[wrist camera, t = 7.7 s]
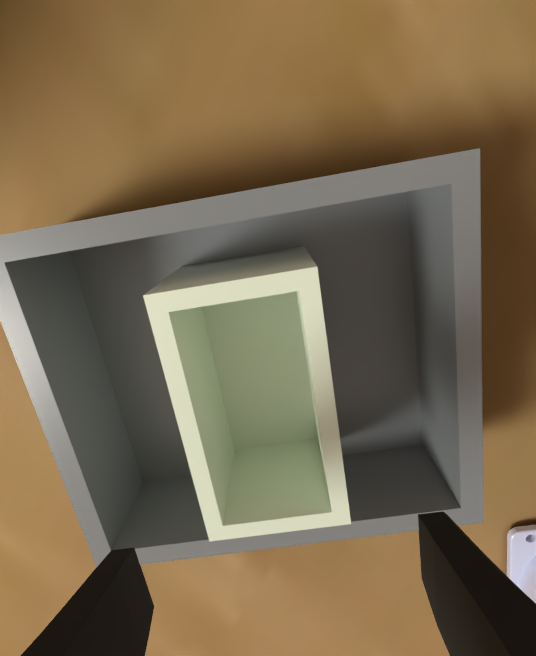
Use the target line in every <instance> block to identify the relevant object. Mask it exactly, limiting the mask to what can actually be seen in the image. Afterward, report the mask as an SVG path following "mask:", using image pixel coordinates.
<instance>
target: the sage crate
mask: <svg viewBox="0 0 536 656" xmlns="http://www.w3.org/2000/svg"><path fill="white" fill-rule="evenodd" d="M143 298H144V301H145V305H146V309H147V312H148V316H149V320H150V324H151V327H152V331H153V335H154V338H155V342H156V346H157V349H158V353H159V357H160V361H161V364H162V368H163V372H164V375H165V379H166V383H167V386H168V390H169V394H170V398H171V401H172V405H173V409H174V412H175V416H176V420H177V423H178V427H179V431H180V434H181V438H182V442H183V446H184V449H185V453H186V457H187V460H188V464H189V468H190V471H191V475H192V479H193V483H194V486H195V490H196V494H197V497H198V501H199V505H200V508H201V512H202V516H203V520H204V523H205V527H206V531H207V534H208V538H209V542H210V541H218V540H226V539H234V538H242V537H250V536H258V535H266V534H275V533H283V532H291V531H299V530H307V529H315V528H323V527H331V526H339V525H347V524H351V518H350V511H349V503H348V496H347V488H346V480H345V473H344V465H343V458H342V450H341V442H340V435H339V427H338V420H337V412H336V405H335V397H334V389H333V382H332V374H331V367H330V359H329V351H328V344H327V336H326V329H325V321H324V314H323V306H322V298H321V291H320V283H319V276H318V268H317V265H316V264H315V262H314V261H313V259H312V257H311V256H310V254H309V253H308V251H307V250H306V248H305V246H302V247H296V248H290V249H284V250H278V251H272V252H266V253H260V254H254V255H248V256H243V257H237V258H231V259H225V260H219V261H213V262H207V263H201V264H195V265H189V266H183V267H180V268H179V269H178V270H176V271H175V272H174V273H172V274H171V275H170V276H168V277H167V278H166V279H164V280H163V281H162V282H160V283H159V284H158V285H156V286H155V287H154V288H152V289H151V290H150V291H148V292H147V293H146V294H144V295H143Z"/></svg>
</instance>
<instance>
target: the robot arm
mask: <svg viewBox="0 0 536 656" xmlns="http://www.w3.org/2000/svg"><path fill="white" fill-rule="evenodd" d="M418 525H419V541H420V557H421V573H422V580H423V583H424V586H425V589H426V592H427V596H428V599H429V602H430V605H431V608H432V611H433V614H434V617H435V620H436V623H437V626H438V628H439V631H440V633H441V635H442V638H443V640H444V642H445V645H446V647H447V649H448V652H449V654H450V656H536V524H535V525H527V526H519V527H514V528H512V529H510V531H509V532H508V535H507V576H506V575H505V574H504V573H503V572H502V571H501V570H500V569H499V568H498V567H497V566H496V565H495V564H494V563H493V562H492V561H491V560H490V559H489V558H488V557H487V556H486V555H485V554H484V553H483V552H482V551H481V550H480V549H479V548H478V547H477V546H476V545H475V544H474V543H473V542H472V541H471V539H470V538H469V537H468V536H467V535H466V534H465V533H464V532H463V531H462V530H461V529H460V528H459V527H458V526H457V524H456V523H455V522H454V521H453V520H452V519H451V518H450V517H449V516H448V515H447V514H446V513H445V512H434V513H425V514H418ZM528 535H529V536H528ZM153 609H154V605H153V602H152V599H151V596H150V593H149V590H148V587H147V584H146V581H145V578H144V575H143V572H142V569H141V566H140V563H139V560H138V557H137V554H136V551H135V548H126V549H117V550H111V551H110V553H109V554H108V555H107V556H106V557H105V558H104V559H103V561H102V562H101V563H100V564H99V565H98V567H97V568H96V569H95V570H94V571H93V572H92V574H91V575H90V576H89V577H88V578H87V580H86V581H85V582H84V583H83V584H82V586H81V587H80V588H79V589H78V590H77V592H76V593H75V594H74V595H73V596H72V598H71V599H70V600H69V601H68V602H67V604H66V605H65V606H64V607H63V608H62V609H61V611H60V612H59V613H58V614H57V615H56V616H55V618H54V619H53V620H52V621H51V622H50V623H49V625H48V626H47V627H46V628H45V629H44V630H43V632H42V633H41V634H40V635H39V636H38V637H37V638H36V639H35V640H34V642H33V643H32V644H31V645H30V646H29V647H28V648H27V649H26V650H25V651H24V653H23V654H22V655H21V656H145V651H146V646H147V641H148V636H149V631H150V626H151V620H152V615H153Z"/></svg>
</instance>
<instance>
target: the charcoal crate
mask: <svg viewBox="0 0 536 656" xmlns="http://www.w3.org/2000/svg"><path fill="white" fill-rule="evenodd" d="M302 246H305V248H306V250H307V251H308V253H309V254H310V256H311V257H312V259H313V261H314V262H315V264H316V265H317V268H318V276H319V283H320V291H321V298H322V306H323V314H324V321H325V329H326V336H327V344H328V351H329V359H330V367H331V374H332V382H333V389H334V397H335V405H336V412H337V420H338V427H339V435H340V442H341V450H342V458H343V465H344V473H345V480H346V488H347V496H348V503H349V511H350V518H351V524H347V525H339V526H331V527H323V528H315V529H307V530H299V531H291V532H283V533H275V534H266V535H258V536H250V537H242V538H234V539H226V540H218V541H210V542H209V538H208V534H207V531H206V527H205V523H204V520H203V516H202V512H201V508H200V505H199V501H198V497H197V494H196V490H195V486H194V483H193V479H192V475H191V471H190V468H189V464H188V460H187V457H186V453H185V449H184V446H183V442H182V438H181V434H180V431H179V427H178V423H177V420H176V416H175V412H174V409H173V405H172V401H171V398H170V394H169V390H168V386H167V383H166V379H165V375H164V372H163V368H162V364H161V361H160V357H159V353H158V349H157V346H156V342H155V338H154V335H153V331H152V327H151V324H150V320H149V316H148V312H147V309H146V305H145V301H144V298H143V295H144V294H146V293H147V292H148V291H150V290H151V289H152V288H154V287H155V286H156V285H158V284H159V283H160V282H162V281H163V280H164V279H166V278H167V277H168V276H170V275H171V274H172V273H174V272H175V271H176V270H178V269H179V268H180V267H183V266H189V265H195V264H201V263H207V262H213V261H219V260H225V259H231V258H237V257H243V256H248V255H254V254H260V253H266V252H272V251H278V250H284V249H290V248H296V247H302ZM0 321H1V323H2V326H3V329H4V331H5V334H6V336H7V339H8V341H9V344H10V346H11V349H12V352H13V354H14V357H15V359H16V362H17V364H18V367H19V370H20V372H21V375H22V377H23V380H24V382H25V385H26V387H27V390H28V393H29V395H30V398H31V400H32V403H33V405H34V408H35V411H36V413H37V416H38V418H39V421H40V423H41V426H42V428H43V431H44V434H45V436H46V439H47V441H48V444H49V446H50V449H51V452H52V454H53V457H54V459H55V462H56V464H57V467H58V470H59V472H60V475H61V477H62V480H63V482H64V485H65V487H66V490H67V493H68V495H69V498H70V500H71V503H72V505H73V508H74V511H75V513H76V516H77V518H78V521H79V523H80V526H81V528H82V531H83V534H84V536H85V539H86V541H87V544H88V546H89V549H90V552H91V554H92V557H93V559H94V562H95V564H96V567H98V565H99V564H100V563H101V562H102V561H103V559H104V558H105V557H106V556H107V555H108V554H109V553H110V551H111V550H117V549H126V548H135V551H136V554H137V557H138V560H139V563H140V564H148V563H156V562H165V561H173V560H181V559H189V558H197V557H206V556H214V555H222V554H230V553H238V552H246V551H255V550H263V549H271V548H279V547H287V546H296V545H304V544H312V543H320V542H328V541H337V540H345V539H353V538H361V537H369V536H377V535H386V534H394V533H402V532H410V531H418V530H419V525H418V514H425V513H434V512H445V513H446V514H447V515H448V516H449V517H450V518H451V519H452V520H453V521H454V522H455V523H456V524H457V526H459V525H468V524H476V523H483V423H482V309H481V195H480V148H478V149H472V150H467V151H461V152H456V153H450V154H445V155H439V156H434V157H428V158H423V159H417V160H412V161H406V162H401V163H395V164H390V165H384V166H378V167H373V168H367V169H362V170H356V171H351V172H345V173H340V174H334V175H329V176H323V177H318V178H312V179H307V180H301V181H296V182H290V183H285V184H279V185H274V186H268V187H263V188H257V189H251V190H246V191H240V192H235V193H229V194H224V195H218V196H213V197H207V198H202V199H196V200H191V201H185V202H180V203H174V204H169V205H163V206H158V207H152V208H147V209H141V210H136V211H130V212H125V213H119V214H113V215H108V216H102V217H97V218H91V219H86V220H80V221H75V222H69V223H64V224H58V225H53V226H47V227H42V228H36V229H31V230H25V231H20V232H14V233H9V234H3V235H0Z"/></svg>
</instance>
